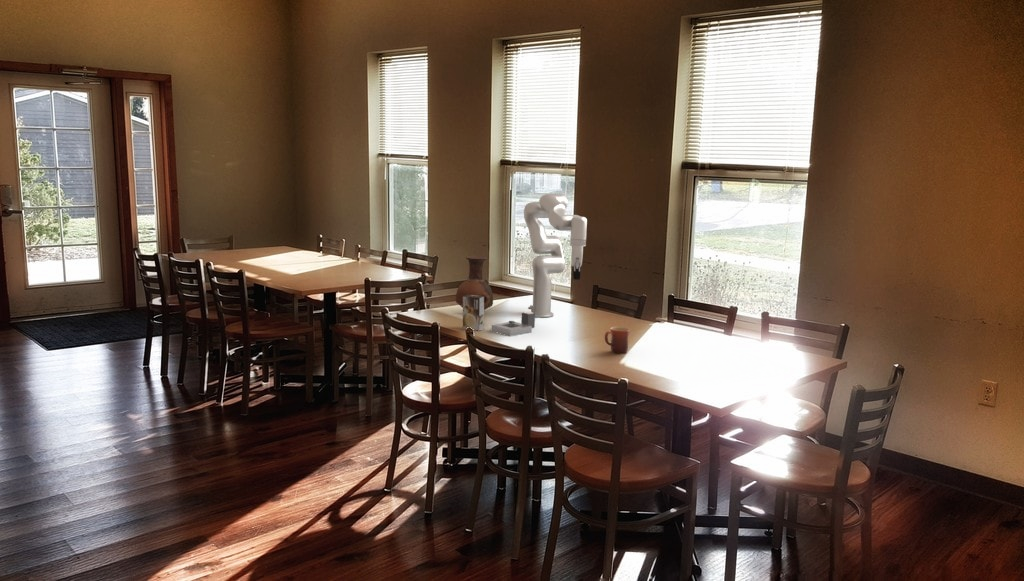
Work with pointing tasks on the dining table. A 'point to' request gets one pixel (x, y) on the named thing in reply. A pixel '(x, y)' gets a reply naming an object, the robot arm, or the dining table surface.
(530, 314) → the plug
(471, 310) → the coffee box
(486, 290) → the vase
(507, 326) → the socket plate
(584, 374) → the dining table surface
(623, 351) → the mug
